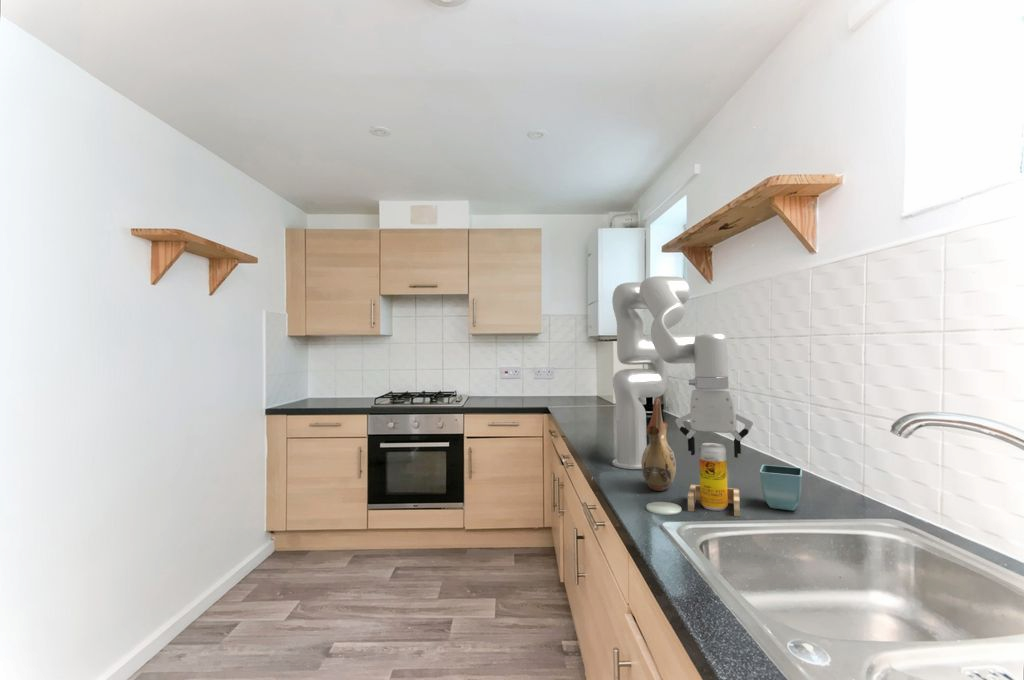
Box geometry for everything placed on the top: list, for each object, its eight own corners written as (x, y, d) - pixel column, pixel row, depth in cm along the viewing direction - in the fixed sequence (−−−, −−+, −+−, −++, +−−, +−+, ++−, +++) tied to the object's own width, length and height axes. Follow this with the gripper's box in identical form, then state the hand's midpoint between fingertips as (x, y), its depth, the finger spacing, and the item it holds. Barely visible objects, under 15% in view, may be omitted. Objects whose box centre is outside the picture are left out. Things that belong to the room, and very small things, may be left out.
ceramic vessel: (671, 499, 127) (669, 401, 127) (636, 495, 131) (634, 400, 131) (680, 482, 142) (678, 395, 142) (647, 479, 146) (646, 394, 146)
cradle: (691, 498, 127) (690, 484, 127) (739, 502, 123) (738, 488, 123) (687, 510, 118) (687, 495, 118) (739, 516, 113) (739, 501, 113)
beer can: (699, 509, 119) (697, 446, 119) (702, 502, 124) (701, 441, 124) (726, 512, 116) (725, 448, 116) (728, 505, 121) (727, 443, 122)
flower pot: (763, 499, 126) (762, 463, 126) (803, 504, 121) (802, 467, 121) (760, 509, 118) (759, 471, 118) (803, 515, 113) (802, 475, 114)
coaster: (649, 502, 124) (649, 500, 124) (682, 506, 121) (682, 503, 121) (644, 512, 117) (644, 510, 117) (679, 516, 114) (679, 514, 114)
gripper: (672, 385, 120) (675, 456, 120) (751, 385, 113) (754, 460, 113) (675, 383, 127) (678, 450, 127) (750, 383, 120) (753, 454, 120)
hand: (714, 455), depth 120 cm, fingers open, 9 cm apart
